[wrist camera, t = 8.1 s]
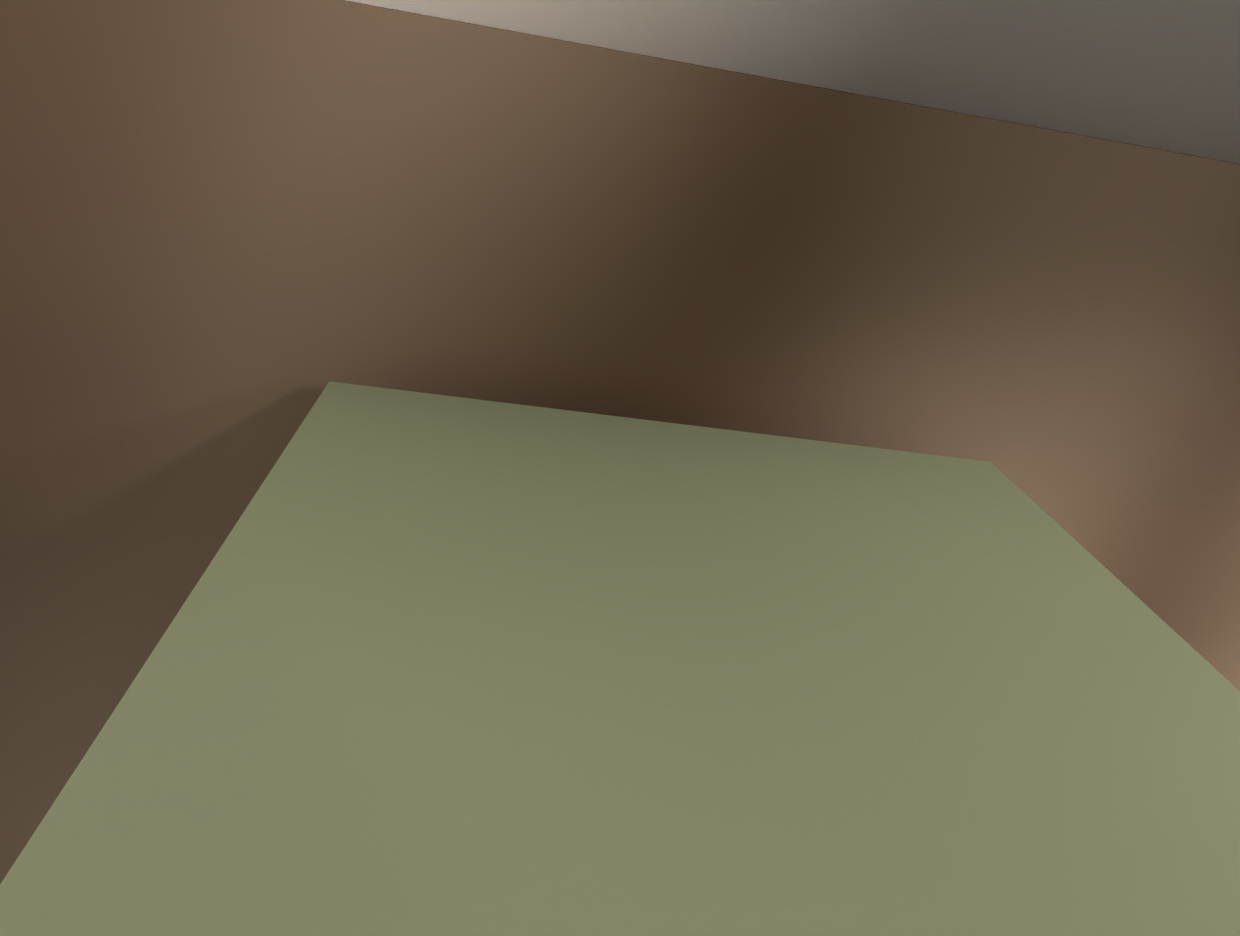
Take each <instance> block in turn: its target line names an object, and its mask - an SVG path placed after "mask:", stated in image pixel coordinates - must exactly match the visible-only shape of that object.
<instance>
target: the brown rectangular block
mask: <svg viewBox="0 0 1240 936" xmlns="http://www.w3.org/2000/svg"><path fill="white" fill-rule="evenodd" d="M329 381H330V382H339V383H347V384H355V385H363V386H372V387H380V388H388V389H396V390H404V391H413V392H421V393H429V394H437V395H446V396H454V397H462V398H470V399H479V400H487V401H495V402H503V403H512V404H520V405H528V406H536V407H544V408H553V409H561V410H569V411H577V412H586V413H594V414H602V415H610V416H619V417H627V418H635V419H643V420H652V421H660V422H668V423H676V424H685V425H693V426H701V427H709V428H717V429H726V430H734V431H742V432H750V433H759V434H767V435H775V436H783V437H792V438H800V439H808V440H816V441H825V442H833V443H841V444H849V445H857V446H866V447H874V448H882V449H890V450H899V451H907V452H915V453H923V454H932V455H940V456H948V457H956V458H965V459H973V460H981V461H989V462H991V463H992V464H994V465H995V466H996V467H997V468H998V469H999V470H1000V471H1001V472H1002V473H1003V474H1004V475H1006V476H1007V477H1008V478H1009V479H1010V480H1011V481H1012V482H1013V483H1014V484H1015V485H1016V486H1017V487H1019V488H1020V489H1021V490H1022V491H1023V492H1024V493H1025V494H1026V495H1027V496H1028V497H1029V498H1031V499H1032V500H1033V501H1034V502H1035V503H1036V504H1037V505H1038V506H1039V507H1040V508H1041V509H1042V510H1044V511H1045V512H1046V513H1047V514H1048V515H1049V516H1050V517H1051V518H1052V519H1053V520H1054V521H1055V522H1057V523H1058V524H1059V525H1060V526H1061V527H1062V528H1063V529H1064V530H1065V531H1066V532H1067V533H1069V534H1070V535H1071V536H1072V537H1073V538H1074V539H1075V540H1076V541H1077V542H1078V543H1079V544H1080V545H1082V546H1083V547H1084V548H1085V549H1086V550H1087V551H1088V552H1089V553H1090V554H1091V555H1092V556H1093V557H1095V558H1096V559H1097V560H1098V561H1099V562H1100V563H1101V564H1102V565H1103V566H1104V567H1105V568H1107V569H1108V570H1109V571H1110V572H1111V573H1112V574H1113V575H1114V576H1115V577H1116V578H1117V579H1118V580H1120V581H1121V582H1122V583H1123V584H1124V585H1125V586H1126V587H1127V588H1128V589H1129V590H1130V591H1131V592H1133V593H1134V594H1135V595H1136V596H1137V597H1138V598H1139V599H1140V600H1141V601H1142V602H1143V603H1145V604H1146V605H1147V606H1148V607H1149V608H1150V609H1151V610H1152V611H1153V612H1154V613H1155V614H1156V615H1158V616H1159V617H1160V618H1161V619H1162V620H1163V621H1164V622H1165V623H1166V624H1167V625H1168V626H1170V627H1171V628H1172V629H1173V630H1174V631H1175V632H1176V633H1177V634H1178V635H1179V636H1180V637H1181V638H1183V639H1184V640H1185V641H1186V642H1187V643H1188V644H1189V645H1190V646H1191V647H1192V648H1193V649H1194V650H1196V651H1197V652H1198V653H1199V654H1200V655H1201V656H1202V657H1203V658H1204V659H1205V660H1206V661H1208V662H1209V663H1210V664H1211V665H1212V666H1213V667H1214V668H1215V669H1216V670H1217V671H1218V672H1219V673H1221V674H1222V675H1223V676H1224V677H1225V678H1226V679H1227V680H1228V681H1229V682H1230V683H1231V684H1232V685H1234V686H1235V687H1236V688H1237V689H1238V690H1239V691H1240V164H1236V163H1230V162H1225V161H1219V160H1214V159H1208V158H1203V157H1197V156H1192V155H1186V154H1181V153H1176V152H1170V151H1165V150H1159V149H1154V148H1148V147H1143V146H1137V145H1132V144H1126V143H1121V142H1115V141H1110V140H1104V139H1099V138H1094V137H1088V136H1083V135H1077V134H1072V133H1066V132H1061V131H1055V130H1050V129H1044V128H1039V127H1033V126H1028V125H1022V124H1017V123H1012V122H1006V121H1001V120H995V119H990V118H984V117H979V116H973V115H968V114H962V113H957V112H951V111H946V110H940V109H935V108H930V107H924V106H919V105H913V104H908V103H902V102H897V101H891V100H886V99H880V98H875V97H869V96H864V95H858V94H853V93H848V92H842V91H837V90H831V89H826V88H820V87H815V86H809V85H804V84H798V83H793V82H787V81H782V80H776V79H771V78H765V77H760V76H755V75H749V74H744V73H738V72H733V71H727V70H722V69H716V68H711V67H705V66H700V65H694V64H689V63H683V62H678V61H673V60H667V59H662V58H656V57H651V56H645V55H640V54H634V53H629V52H623V51H618V50H612V49H607V48H601V47H596V46H591V45H585V44H580V43H574V42H569V41H563V40H558V39H552V38H547V37H541V36H536V35H530V34H525V33H519V32H514V31H509V30H503V29H498V28H492V27H487V26H481V25H476V24H470V23H465V22H459V21H454V20H448V19H443V18H437V17H432V16H427V15H421V14H416V13H410V12H405V11H399V10H394V9H388V8H383V7H377V6H372V5H366V4H361V3H355V2H350V1H345V0H0V884H1V883H2V881H3V880H4V878H5V876H6V875H7V873H8V872H9V870H10V869H11V867H12V866H13V864H14V863H15V861H16V860H17V858H18V857H19V855H20V854H21V852H22V850H23V849H24V847H25V846H26V844H27V843H28V841H29V840H30V838H31V837H32V835H33V834H34V832H35V831H36V829H37V828H38V826H39V824H40V823H41V821H42V820H43V818H44V817H45V815H46V814H47V812H48V811H49V809H50V808H51V806H52V805H53V803H54V802H55V800H56V798H57V797H58V795H59V794H60V792H61V791H62V789H63V788H64V786H65V785H66V783H67V782H68V780H69V779H70V777H71V776H72V774H73V772H74V771H75V769H76V768H77V766H78V765H79V763H80V762H81V760H82V759H83V757H84V756H85V754H86V753H87V751H88V750H89V748H90V746H91V745H92V743H93V742H94V740H95V739H96V737H97V736H98V734H99V733H100V731H101V730H102V728H103V727H104V725H105V724H106V722H107V720H108V719H109V717H110V716H111V714H112V713H113V711H114V710H115V708H116V707H117V705H118V704H119V702H120V701H121V699H122V698H123V696H124V694H125V693H126V691H127V690H128V688H129V687H130V685H131V684H132V682H133V681H134V679H135V678H136V676H137V675H138V673H139V672H140V670H141V668H142V667H143V665H144V664H145V662H146V661H147V659H148V658H149V656H150V655H151V653H152V652H153V650H154V649H155V647H156V646H157V644H158V642H159V641H160V639H161V638H162V636H163V635H164V633H165V632H166V630H167V629H168V627H169V626H170V624H171V623H172V621H173V620H174V618H175V616H176V615H177V613H178V612H179V610H180V609H181V607H182V606H183V604H184V603H185V601H186V600H187V598H188V597H189V595H190V594H191V592H192V590H193V589H194V587H195V586H196V584H197V583H198V581H199V580H200V578H201V577H202V575H203V574H204V572H205V571H206V569H207V568H208V566H209V564H210V563H211V561H212V560H213V558H214V557H215V555H216V554H217V552H218V551H219V549H220V548H221V546H222V545H223V543H224V542H225V540H226V538H227V537H228V535H229V534H230V532H231V531H232V529H233V528H234V526H235V525H236V523H237V522H238V520H239V519H240V517H241V516H242V514H243V512H244V511H245V509H246V508H247V506H248V505H249V503H250V502H251V500H252V499H253V497H254V496H255V494H256V493H257V491H258V490H259V488H260V486H261V485H262V483H263V482H264V480H265V479H266V477H267V476H268V474H269V473H270V471H271V470H272V468H273V467H274V465H275V464H276V462H277V460H278V459H279V457H280V456H281V454H282V453H283V451H284V450H285V448H286V447H287V445H288V444H289V442H290V441H291V439H292V438H293V436H294V434H295V433H296V431H297V430H298V428H299V427H300V425H301V424H302V422H303V421H304V419H305V418H306V416H307V415H308V413H309V412H310V410H311V408H312V407H313V405H314V404H315V402H316V401H317V399H318V398H319V396H320V395H321V393H322V392H323V390H324V389H325V387H326V386H327V384H328V382H329Z"/></svg>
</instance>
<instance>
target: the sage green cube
mask: <svg viewBox="0 0 1240 936" xmlns="http://www.w3.org/2000/svg"><path fill="white" fill-rule="evenodd" d="M0 936H1240V691H1239V690H1238V689H1237V688H1236V687H1235V686H1234V685H1232V684H1231V683H1230V682H1229V681H1228V680H1227V679H1226V678H1225V677H1224V676H1223V675H1222V674H1221V673H1219V672H1218V671H1217V670H1216V669H1215V668H1214V667H1213V666H1212V665H1211V664H1210V663H1209V662H1208V661H1206V660H1205V659H1204V658H1203V657H1202V656H1201V655H1200V654H1199V653H1198V652H1197V651H1196V650H1194V649H1193V648H1192V647H1191V646H1190V645H1189V644H1188V643H1187V642H1186V641H1185V640H1184V639H1183V638H1181V637H1180V636H1179V635H1178V634H1177V633H1176V632H1175V631H1174V630H1173V629H1172V628H1171V627H1170V626H1168V625H1167V624H1166V623H1165V622H1164V621H1163V620H1162V619H1161V618H1160V617H1159V616H1158V615H1156V614H1155V613H1154V612H1153V611H1152V610H1151V609H1150V608H1149V607H1148V606H1147V605H1146V604H1145V603H1143V602H1142V601H1141V600H1140V599H1139V598H1138V597H1137V596H1136V595H1135V594H1134V593H1133V592H1131V591H1130V590H1129V589H1128V588H1127V587H1126V586H1125V585H1124V584H1123V583H1122V582H1121V581H1120V580H1118V579H1117V578H1116V577H1115V576H1114V575H1113V574H1112V573H1111V572H1110V571H1109V570H1108V569H1107V568H1105V567H1104V566H1103V565H1102V564H1101V563H1100V562H1099V561H1098V560H1097V559H1096V558H1095V557H1093V556H1092V555H1091V554H1090V553H1089V552H1088V551H1087V550H1086V549H1085V548H1084V547H1083V546H1082V545H1080V544H1079V543H1078V542H1077V541H1076V540H1075V539H1074V538H1073V537H1072V536H1071V535H1070V534H1069V533H1067V532H1066V531H1065V530H1064V529H1063V528H1062V527H1061V526H1060V525H1059V524H1058V523H1057V522H1055V521H1054V520H1053V519H1052V518H1051V517H1050V516H1049V515H1048V514H1047V513H1046V512H1045V511H1044V510H1042V509H1041V508H1040V507H1039V506H1038V505H1037V504H1036V503H1035V502H1034V501H1033V500H1032V499H1031V498H1029V497H1028V496H1027V495H1026V494H1025V493H1024V492H1023V491H1022V490H1021V489H1020V488H1019V487H1017V486H1016V485H1015V484H1014V483H1013V482H1012V481H1011V480H1010V479H1009V478H1008V477H1007V476H1006V475H1004V474H1003V473H1002V472H1001V471H1000V470H999V469H998V468H997V467H996V466H995V465H994V464H992V463H991V462H989V461H981V460H973V459H965V458H956V457H948V456H940V455H932V454H923V453H915V452H907V451H899V450H890V449H882V448H874V447H866V446H857V445H849V444H841V443H833V442H825V441H816V440H808V439H800V438H792V437H783V436H775V435H767V434H759V433H750V432H742V431H734V430H726V429H717V428H709V427H701V426H693V425H685V424H676V423H668V422H660V421H652V420H643V419H635V418H627V417H619V416H610V415H602V414H594V413H586V412H577V411H569V410H561V409H553V408H544V407H536V406H528V405H520V404H512V403H503V402H495V401H487V400H479V399H470V398H462V397H454V396H446V395H437V394H429V393H421V392H413V391H404V390H396V389H388V388H380V387H372V386H363V385H355V384H347V383H339V382H330V381H329V382H328V384H327V386H326V387H325V389H324V390H323V392H322V393H321V395H320V396H319V398H318V399H317V401H316V402H315V404H314V405H313V407H312V408H311V410H310V412H309V413H308V415H307V416H306V418H305V419H304V421H303V422H302V424H301V425H300V427H299V428H298V430H297V431H296V433H295V434H294V436H293V438H292V439H291V441H290V442H289V444H288V445H287V447H286V448H285V450H284V451H283V453H282V454H281V456H280V457H279V459H278V460H277V462H276V464H275V465H274V467H273V468H272V470H271V471H270V473H269V474H268V476H267V477H266V479H265V480H264V482H263V483H262V485H261V486H260V488H259V490H258V491H257V493H256V494H255V496H254V497H253V499H252V500H251V502H250V503H249V505H248V506H247V508H246V509H245V511H244V512H243V514H242V516H241V517H240V519H239V520H238V522H237V523H236V525H235V526H234V528H233V529H232V531H231V532H230V534H229V535H228V537H227V538H226V540H225V542H224V543H223V545H222V546H221V548H220V549H219V551H218V552H217V554H216V555H215V557H214V558H213V560H212V561H211V563H210V564H209V566H208V568H207V569H206V571H205V572H204V574H203V575H202V577H201V578H200V580H199V581H198V583H197V584H196V586H195V587H194V589H193V590H192V592H191V594H190V595H189V597H188V598H187V600H186V601H185V603H184V604H183V606H182V607H181V609H180V610H179V612H178V613H177V615H176V616H175V618H174V620H173V621H172V623H171V624H170V626H169V627H168V629H167V630H166V632H165V633H164V635H163V636H162V638H161V639H160V641H159V642H158V644H157V646H156V647H155V649H154V650H153V652H152V653H151V655H150V656H149V658H148V659H147V661H146V662H145V664H144V665H143V667H142V668H141V670H140V672H139V673H138V675H137V676H136V678H135V679H134V681H133V682H132V684H131V685H130V687H129V688H128V690H127V691H126V693H125V694H124V696H123V698H122V699H121V701H120V702H119V704H118V705H117V707H116V708H115V710H114V711H113V713H112V714H111V716H110V717H109V719H108V720H107V722H106V724H105V725H104V727H103V728H102V730H101V731H100V733H99V734H98V736H97V737H96V739H95V740H94V742H93V743H92V745H91V746H90V748H89V750H88V751H87V753H86V754H85V756H84V757H83V759H82V760H81V762H80V763H79V765H78V766H77V768H76V769H75V771H74V772H73V774H72V776H71V777H70V779H69V780H68V782H67V783H66V785H65V786H64V788H63V789H62V791H61V792H60V794H59V795H58V797H57V798H56V800H55V802H54V803H53V805H52V806H51V808H50V809H49V811H48V812H47V814H46V815H45V817H44V818H43V820H42V821H41V823H40V824H39V826H38V828H37V829H36V831H35V832H34V834H33V835H32V837H31V838H30V840H29V841H28V843H27V844H26V846H25V847H24V849H23V850H22V852H21V854H20V855H19V857H18V858H17V860H16V861H15V863H14V864H13V866H12V867H11V869H10V870H9V872H8V873H7V875H6V876H5V878H4V880H3V881H2V883H1V884H0Z"/></svg>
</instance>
